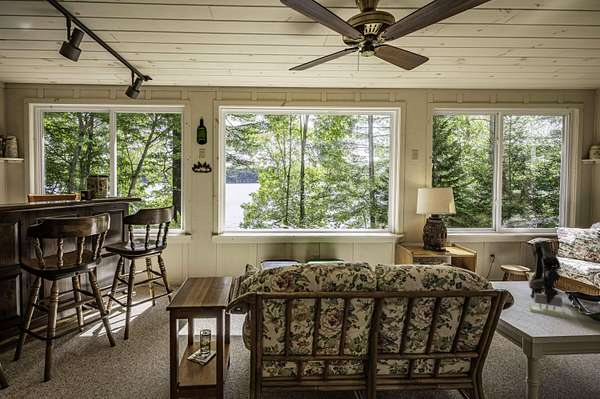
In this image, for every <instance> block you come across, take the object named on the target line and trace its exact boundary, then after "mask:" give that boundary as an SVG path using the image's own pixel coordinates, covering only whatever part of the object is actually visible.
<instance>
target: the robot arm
mask: <svg viewBox="0 0 600 399" xmlns="http://www.w3.org/2000/svg"><path fill="white" fill-rule="evenodd" d="M532 248H533V251H534V252H535V253H536V256H535V268H534V270H535V271H534V272H535V274H534V275H533V276H532V279H531V280H530V283H529V282H528V286H529V289H531V294H530V298H531V299H534V293H540V294H546V298H547V303H550V302H551V301H552V299H553V298H554V297H555V296H559V291H558V290H557V289H556V286H555V283H556V282H558V280H560V278H561V275H560V274H559V273H558V271H557V270H560V268H561V262H560V261H559V259H558V258H557V256H556V255H555V254H553V252H552V249H551V243H550V241H545V240H539V241H535V242H534V243H533V247H532ZM542 290H543V292H544V293H543V292H542Z"/></svg>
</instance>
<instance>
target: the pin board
mask: <svg viewBox="0 0 600 399" xmlns="http://www.w3.org/2000/svg"><path fill="white" fill-rule="evenodd" d="M538 304H539V303H538ZM527 308H528V310H529V311H530V313H535V314H536V313H537V314H541V315H547V316H553V317H557V318H558V317H560V318H564V319H568V314H567V313H566V311H564V309H559V308H558V309H557V308H556V306H553V307H552V308H551V307H549V305H545V306H542V304H539V305H538V306H537V305H534V304H533V305H532V304H528V305H527Z"/></svg>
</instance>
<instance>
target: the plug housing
mask: <svg viewBox="0 0 600 399" xmlns="http://www.w3.org/2000/svg"><path fill="white" fill-rule="evenodd" d="M533 301H534V303H535V304H541V305H545V306H546V305H548V306H555V307H558V308H562V307H563V298H562V297H561V296H560V295H555V297H554V298H553V299H552V301H551V302H550V303H547V298H546V294H544V293H542V294H540V293H534V298H533Z"/></svg>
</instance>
